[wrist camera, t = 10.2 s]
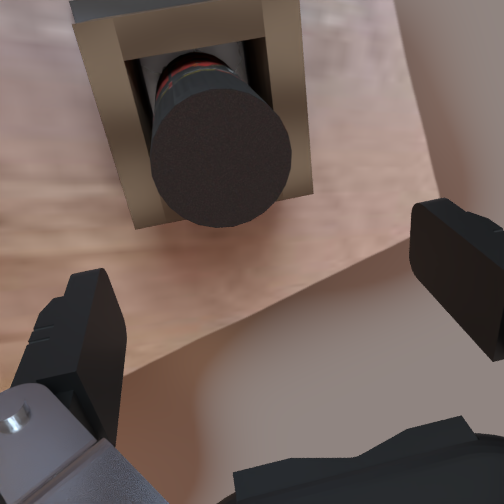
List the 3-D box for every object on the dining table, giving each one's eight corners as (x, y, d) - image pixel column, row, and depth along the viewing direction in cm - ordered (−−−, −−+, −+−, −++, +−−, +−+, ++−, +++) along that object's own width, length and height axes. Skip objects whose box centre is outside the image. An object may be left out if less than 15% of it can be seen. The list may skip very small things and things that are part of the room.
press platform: (138, 51, 30) (137, 52, 29) (239, 34, 31) (241, 35, 30) (163, 150, 34) (163, 154, 33) (252, 133, 34) (255, 137, 33)
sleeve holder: (71, 1, 29) (38, 0, 21) (279, -32, 30) (319, -44, 22) (130, 196, 36) (121, 249, 28) (297, 164, 37) (331, 206, 29)
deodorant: (252, 72, 31) (315, 120, 18) (222, 150, 33) (259, 242, 21) (170, 36, 29) (176, 62, 16) (145, 122, 31) (132, 205, 19)
